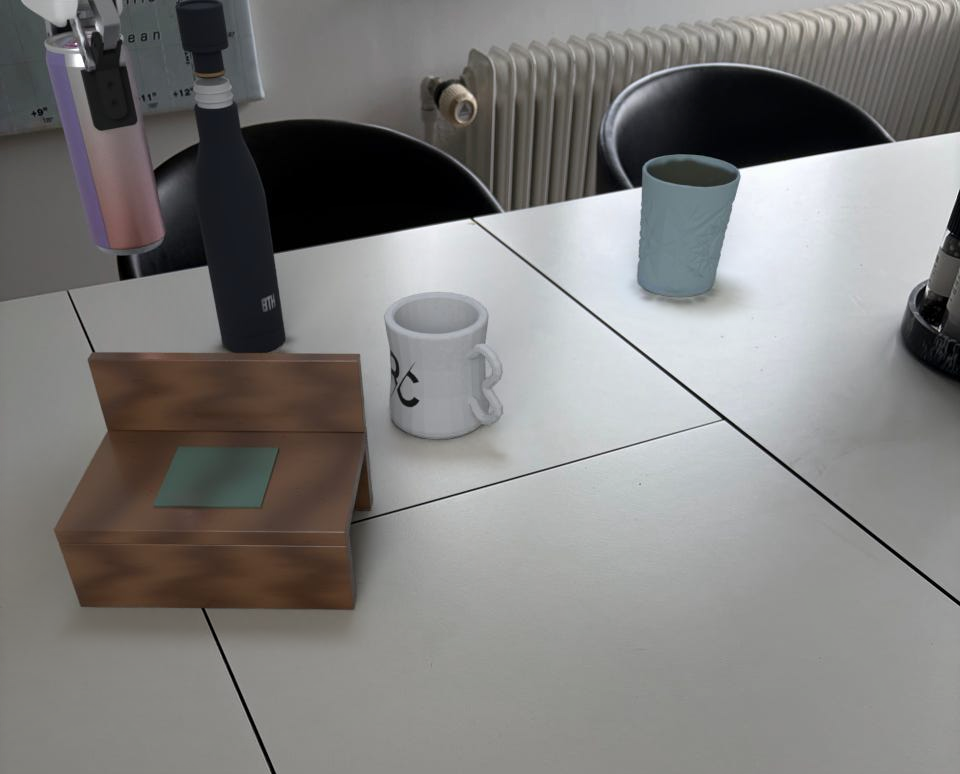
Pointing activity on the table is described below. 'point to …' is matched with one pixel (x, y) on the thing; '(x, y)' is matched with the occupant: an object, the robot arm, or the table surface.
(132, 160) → the beverage can
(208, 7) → the dark bottle
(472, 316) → the mug
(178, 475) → the shelf
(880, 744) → the table surface
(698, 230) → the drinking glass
